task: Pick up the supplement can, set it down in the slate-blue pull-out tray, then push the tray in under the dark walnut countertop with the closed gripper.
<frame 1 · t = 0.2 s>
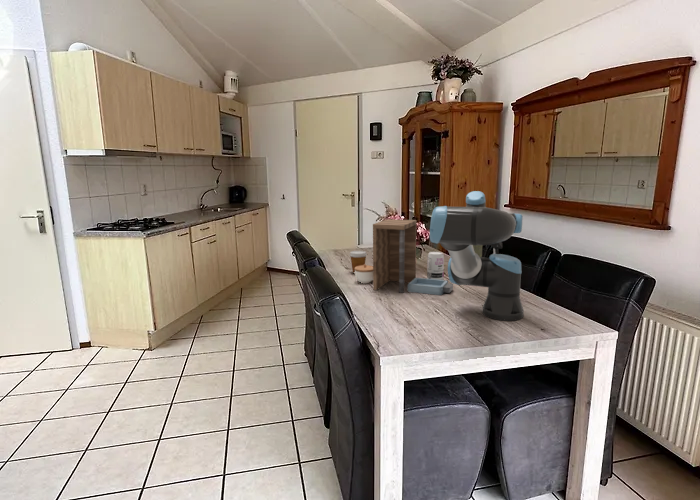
hand: (479, 257, 190), 16 cm above the table, tool tilted 35°, fingers open, 13 cm apart
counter: (395, 286, 202), on the table
thermos: (473, 276, 219), on the table
lidded jar: (365, 282, 211), on the table
supplement can: (435, 282, 209), on the table
tray: (431, 286, 194), point 2 cm above the table, slide at 13.0 cm
disposable coffee cup: (358, 273, 230), on the table
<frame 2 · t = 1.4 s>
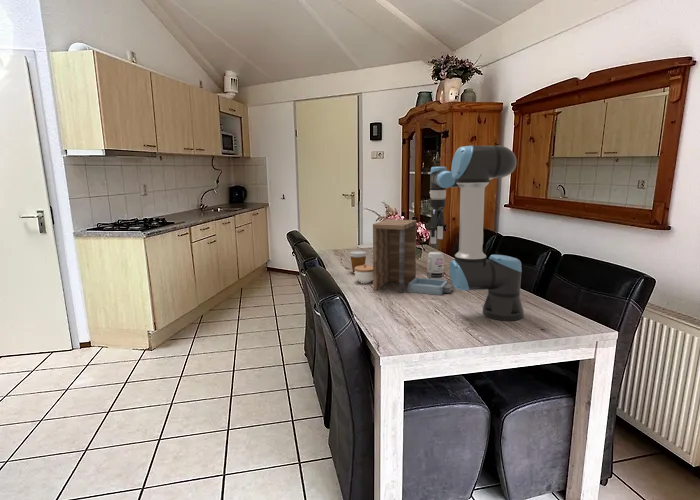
hand: (436, 241, 205), 21 cm above the table, tool pointing down, fingers open, 13 cm apart
nothing on the table moved.
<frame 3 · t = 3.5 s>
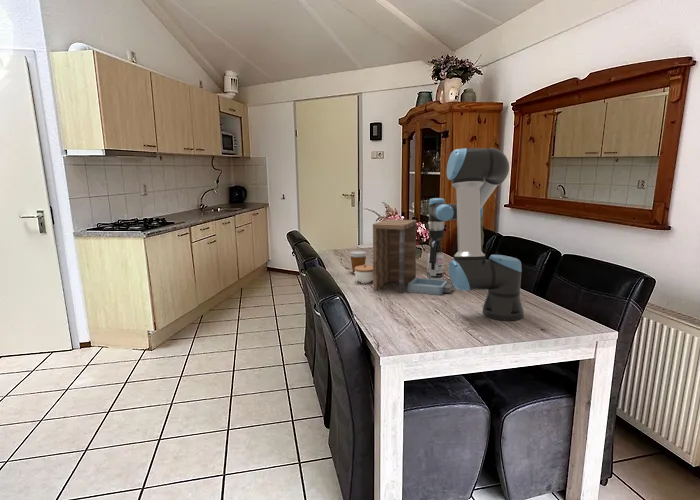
hand: (435, 273, 209), 4 cm above the table, tool pointing down, fingers closed on supplement can, 8 cm apart
supplement can: (435, 282, 209), on the table, touching gripper
everything else where it was.
when the fingers open (7 cm above the table, at t = 9.1 s): supplement can drops 1 cm, resting on tray.
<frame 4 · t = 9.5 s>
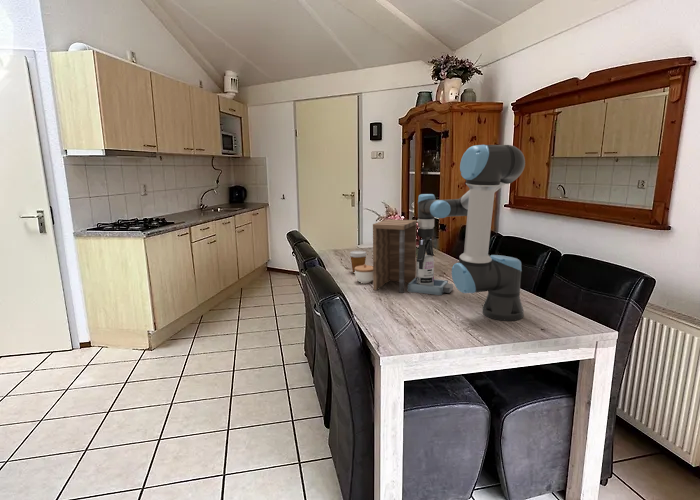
hand: (425, 272, 194), 9 cm above the table, tool pointing down, fingers open, 13 cm apart
supplement can: (424, 287, 195), point 1 cm above the table, touching tray
tray: (431, 286, 194), point 2 cm above the table, slide at 13.0 cm, touching supplement can
everything else where it was.
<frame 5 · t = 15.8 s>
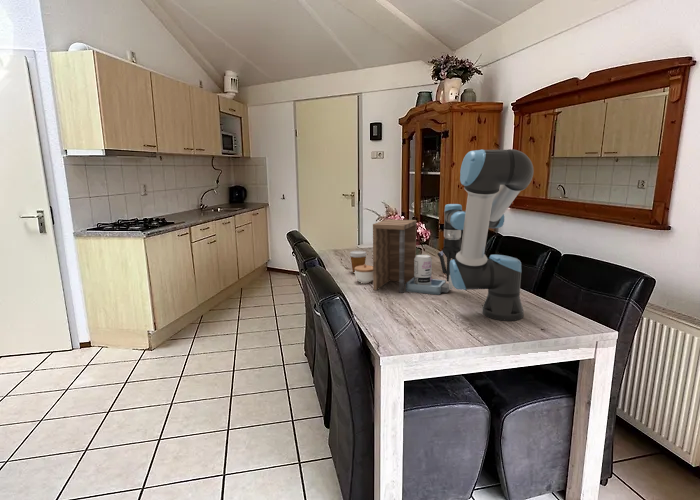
hand: (450, 288, 190), 2 cm above the table, tool pointing down, fingers closed
supplement can: (422, 287, 196), point 1 cm above the table, touching tray
tray: (428, 286, 194), point 2 cm above the table, slide at 11.9 cm, touching gripper, supplement can
everything else where it was.
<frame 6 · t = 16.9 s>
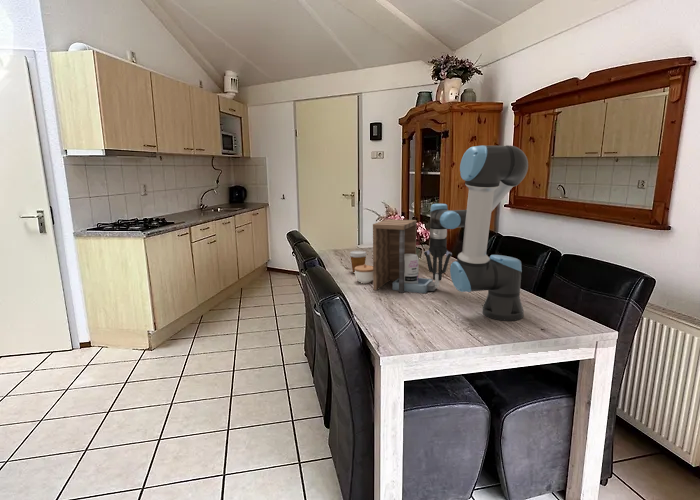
hand: (437, 286, 193), 2 cm above the table, tool pointing down, fingers closed
supplement can: (409, 285, 198), point 1 cm above the table, touching tray
tray: (415, 284, 197), point 2 cm above the table, slide at 5.5 cm, touching gripper, supplement can
everything else where it was.
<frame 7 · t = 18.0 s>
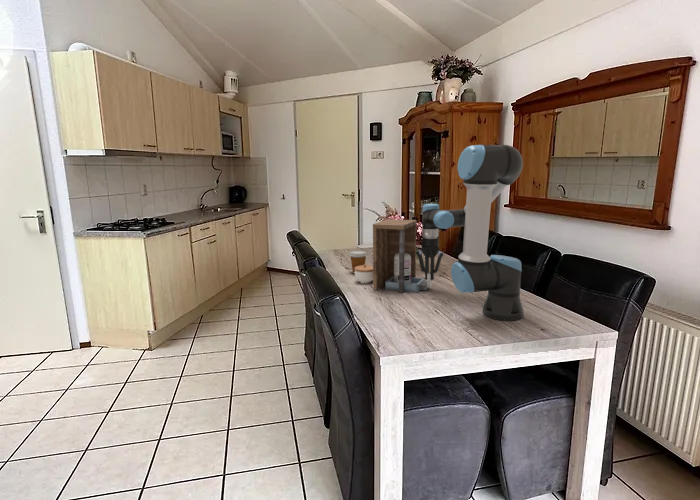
hand: (429, 286, 194), 2 cm above the table, tool pointing down, fingers closed
supplement can: (402, 285, 200), point 1 cm above the table, touching tray
tray: (408, 283, 199), point 2 cm above the table, slide at 1.9 cm, touching gripper, supplement can
everything else where it was.
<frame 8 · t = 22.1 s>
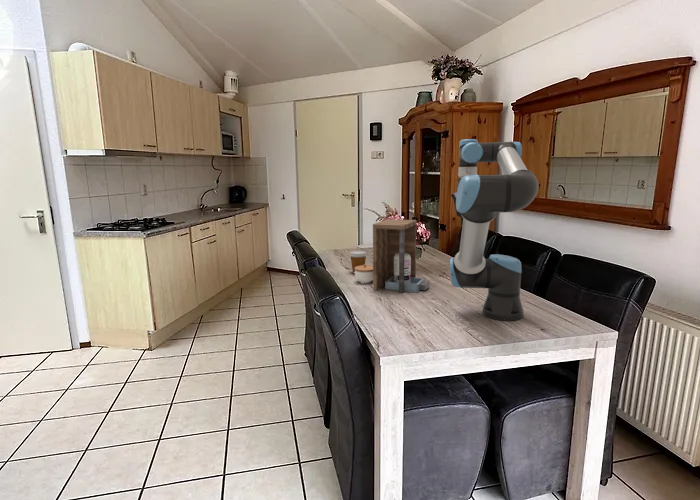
hand: (465, 232, 177), 29 cm above the table, tool pointing down, fingers closed
tray: (408, 283, 199), point 2 cm above the table, slide at 1.7 cm, touching supplement can
everything else where it was.
at the end: tray slide at 1.7 cm; supplement can inside the target area (0.8 cm from its centre), point 1.3 cm above the table; supplement can tilted 0° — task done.
